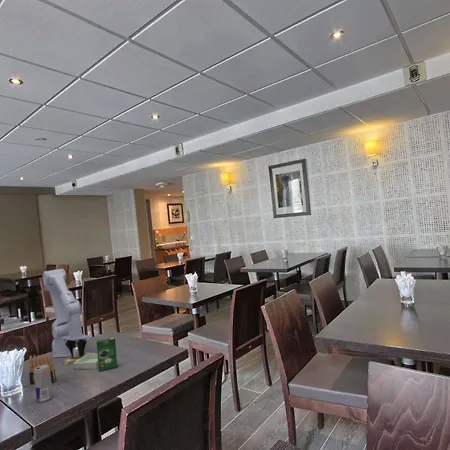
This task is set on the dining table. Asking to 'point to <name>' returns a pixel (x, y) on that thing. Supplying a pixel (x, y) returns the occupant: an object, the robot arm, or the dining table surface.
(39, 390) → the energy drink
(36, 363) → the ammunition clip
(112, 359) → the coffee box
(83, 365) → the tray
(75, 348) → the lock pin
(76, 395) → the dining table surface
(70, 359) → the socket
